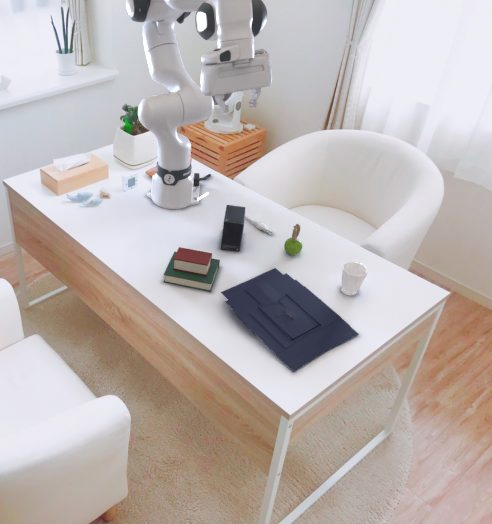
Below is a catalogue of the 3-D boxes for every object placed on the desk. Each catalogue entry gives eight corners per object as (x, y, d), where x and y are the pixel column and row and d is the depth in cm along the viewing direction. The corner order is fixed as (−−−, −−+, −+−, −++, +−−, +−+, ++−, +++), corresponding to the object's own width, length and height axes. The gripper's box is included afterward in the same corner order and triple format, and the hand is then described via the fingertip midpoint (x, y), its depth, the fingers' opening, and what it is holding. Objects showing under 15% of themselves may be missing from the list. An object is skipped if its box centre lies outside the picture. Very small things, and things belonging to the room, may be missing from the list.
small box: (240, 252, 180) (244, 223, 174) (219, 249, 181) (222, 221, 175) (242, 234, 188) (246, 206, 182) (222, 231, 189) (225, 204, 183)
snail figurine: (280, 257, 178) (286, 224, 171) (285, 246, 182) (291, 214, 175) (297, 261, 176) (304, 228, 169) (302, 251, 181) (309, 218, 173)
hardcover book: (174, 259, 177) (174, 251, 175) (219, 267, 173) (219, 259, 171) (163, 282, 167) (163, 274, 166) (210, 291, 164) (211, 283, 162)
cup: (331, 292, 164) (337, 269, 159) (346, 275, 171) (352, 253, 166) (355, 302, 161) (362, 279, 156) (369, 284, 167) (376, 262, 162)
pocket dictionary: (178, 258, 172) (178, 247, 170) (211, 264, 170) (212, 253, 167) (173, 269, 167) (173, 258, 165) (206, 276, 165) (207, 264, 163)
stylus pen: (275, 234, 188) (276, 229, 187) (269, 237, 187) (270, 232, 186) (243, 214, 198) (243, 210, 197) (237, 217, 197) (238, 212, 195)
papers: (277, 272, 169) (280, 263, 167) (356, 340, 152) (360, 331, 149) (213, 301, 158) (215, 292, 156) (290, 379, 141) (293, 369, 138)
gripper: (259, 48, 149) (261, 103, 154) (195, 57, 140) (199, 115, 145) (276, 47, 144) (278, 104, 149) (210, 56, 135) (214, 116, 140)
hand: (238, 109), depth 147 cm, fingers open, 8 cm apart
